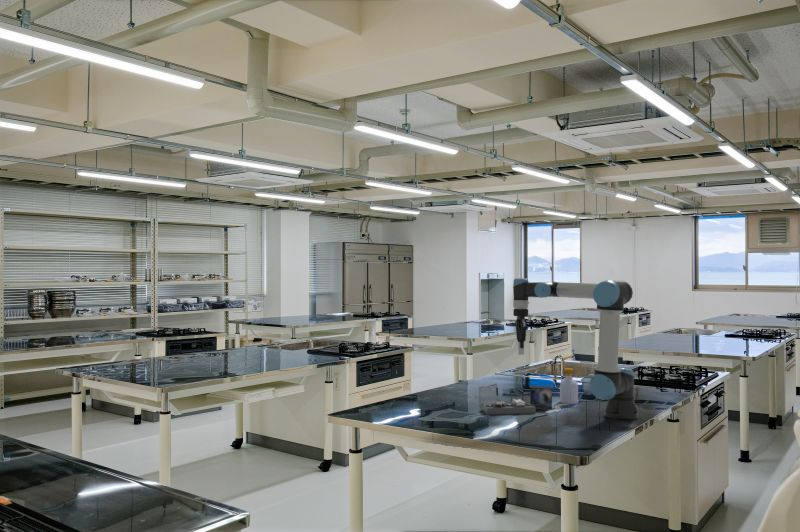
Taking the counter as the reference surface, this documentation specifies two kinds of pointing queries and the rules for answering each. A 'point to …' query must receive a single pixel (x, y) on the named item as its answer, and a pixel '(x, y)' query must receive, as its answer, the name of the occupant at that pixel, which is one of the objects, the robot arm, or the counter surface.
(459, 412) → the counter surface
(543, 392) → the small box
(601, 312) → the robot arm
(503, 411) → the power strip
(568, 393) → the soap bottle
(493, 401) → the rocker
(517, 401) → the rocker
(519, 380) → the counter surface
